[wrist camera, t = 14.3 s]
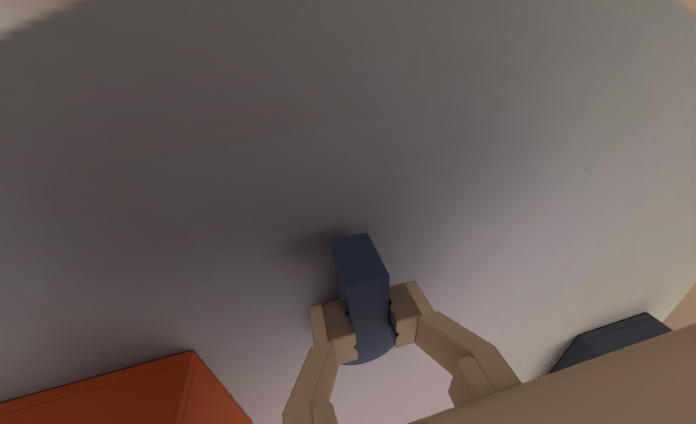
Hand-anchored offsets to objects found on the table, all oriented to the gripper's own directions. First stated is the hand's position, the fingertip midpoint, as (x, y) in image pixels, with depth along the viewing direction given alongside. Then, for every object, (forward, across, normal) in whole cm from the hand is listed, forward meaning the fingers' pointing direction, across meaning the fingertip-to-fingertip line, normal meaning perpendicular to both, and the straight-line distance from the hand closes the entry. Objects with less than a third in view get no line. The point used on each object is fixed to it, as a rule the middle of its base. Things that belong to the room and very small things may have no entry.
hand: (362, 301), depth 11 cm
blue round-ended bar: (+2, 0, +2) cm, 2 cm away
